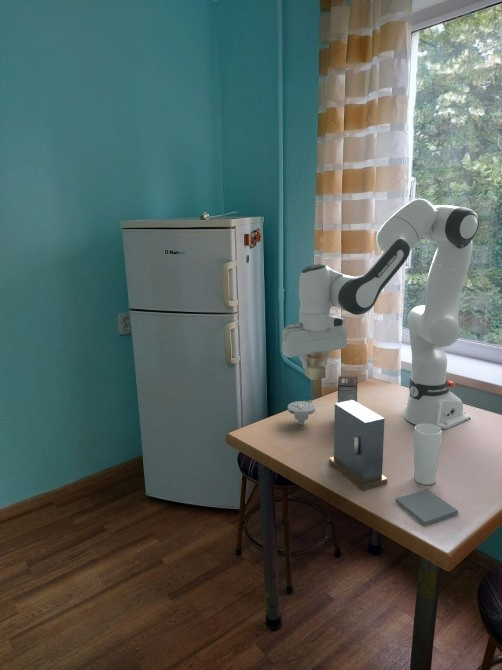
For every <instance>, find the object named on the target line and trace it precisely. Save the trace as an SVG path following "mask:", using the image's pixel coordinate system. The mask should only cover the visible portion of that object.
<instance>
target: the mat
mask: <svg viewBox="0 0 502 670" xmlns="http://www.w3.org/2000/svg"><path fill="white" fill-rule="evenodd" d="M395 503H396V504H397V505H398V506H400V507H401V508H402V509H404V510H405V511H406V512H407V513H408V514H410V515H411V516H412V517H413V518H414V519H416V520H417V521H418V522H419V523H421V524H422V525H423V526H428V525H430V524H433V523H437V522H439V521H442V520H445V519H447V518H448V519H449V518H451V517H453V516H454V517H455V516H457V515H459V510H458V509H457V508H456V507H454V506H452V505H451V504H450V503H448V502H447V501H446V500H444V499H443V498H441V497H439V496H438V495H437V494H436V493H434V492H433V491H431V490H429V489H428V488H426V489H422V490H419V491H416V492H412V493H409V494H406V495H404V496H400V497H397V498H395Z"/></svg>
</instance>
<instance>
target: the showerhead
mask: <svg viewBox="0 0 502 670" xmlns="http://www.w3.org/2000/svg"><path fill="white" fill-rule="evenodd" d="M312 402H313V400H312V399H310V400H309V401H306V400H305V401H303V400H302V401H301V400H299V401H292V402H291V403H289V404H288V405H287V411H288V413H290V414H292V415H294V416H293V417H294V419H295V420H297V422H298V425H305V422H306V420H307V421H308V420H309V417H310V415H312V414H314V413H315V412H316V405H315V404H314V403H312Z"/></svg>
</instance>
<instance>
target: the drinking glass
mask: <svg viewBox="0 0 502 670" xmlns="http://www.w3.org/2000/svg"><path fill="white" fill-rule="evenodd" d="M442 430H443V429H440V428H439V427H438V426H435V425H432V424H418V425H416V424H415V426H414V430H413V442H412V443H413V463H414V466H413V467H414V473H413V474H414V475H413V477H414V481H416V482H417V483H418V484H420V485H423V486H430V485H433V484H434V483H435V482H436V479H437V478H436V477H437V470H438V464H439V458H440V454H441V447H442V435H443V434H442V433H443V431H442Z"/></svg>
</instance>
